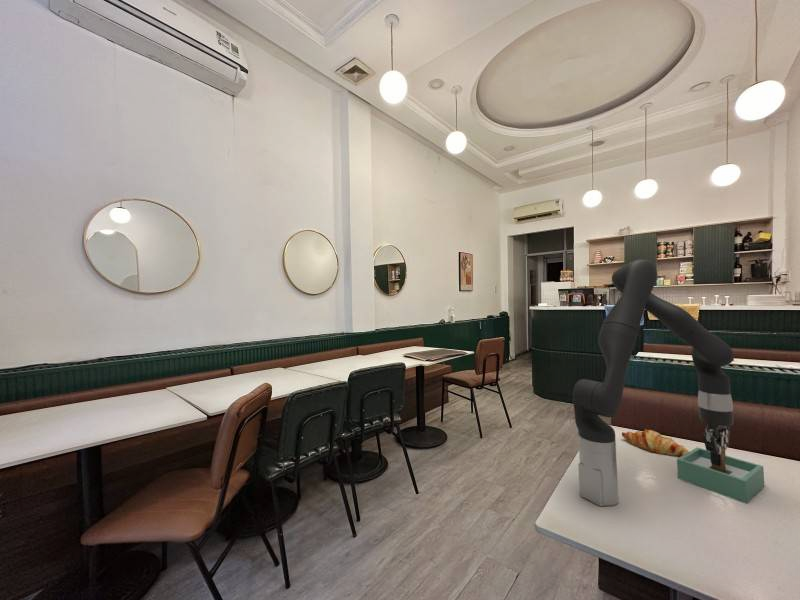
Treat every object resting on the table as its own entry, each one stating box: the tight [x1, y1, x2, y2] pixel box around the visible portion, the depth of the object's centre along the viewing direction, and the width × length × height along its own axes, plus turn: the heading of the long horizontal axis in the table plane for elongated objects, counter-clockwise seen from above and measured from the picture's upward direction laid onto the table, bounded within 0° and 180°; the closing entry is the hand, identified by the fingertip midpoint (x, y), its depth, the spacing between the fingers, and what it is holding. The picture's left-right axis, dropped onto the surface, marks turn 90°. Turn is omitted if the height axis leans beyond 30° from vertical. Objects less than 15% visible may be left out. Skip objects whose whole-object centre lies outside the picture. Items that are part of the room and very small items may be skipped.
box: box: [676, 447, 766, 504], centre depth 97 cm, size 15×15×6 cm
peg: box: [712, 441, 726, 473], centre depth 97 cm, size 3×3×10 cm
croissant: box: [621, 428, 690, 457], centre depth 120 cm, size 21×10×8 cm, turn 37°
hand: (718, 463), depth 97 cm, fingers closed on peg, 3 cm apart
